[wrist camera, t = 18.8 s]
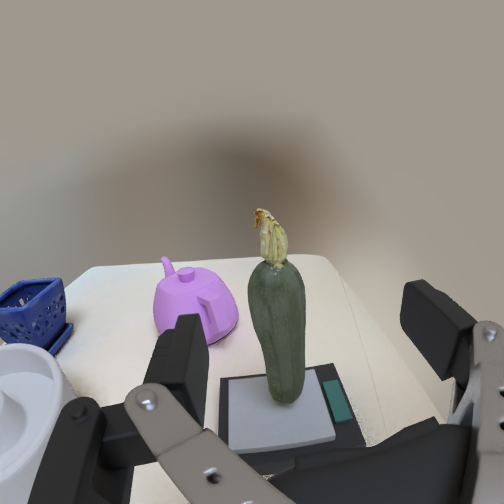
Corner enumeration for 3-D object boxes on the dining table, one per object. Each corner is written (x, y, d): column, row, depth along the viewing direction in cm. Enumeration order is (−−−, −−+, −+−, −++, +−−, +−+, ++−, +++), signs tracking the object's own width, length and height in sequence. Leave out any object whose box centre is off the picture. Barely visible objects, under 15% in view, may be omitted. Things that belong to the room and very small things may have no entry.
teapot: (202, 295, 60) (192, 244, 56) (264, 336, 45) (257, 271, 41) (143, 318, 53) (127, 265, 49) (189, 375, 38) (169, 307, 34)
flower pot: (38, 328, 50) (18, 279, 46) (82, 329, 50) (62, 274, 46) (7, 363, 38) (-20, 309, 33) (52, 371, 37) (22, 309, 33)
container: (-23, 405, 26) (-53, 357, 22) (93, 381, 36) (67, 326, 33) (-39, 526, 5) (-97, 477, 1) (123, 530, 15) (64, 488, 12)
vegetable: (313, 412, 26) (313, 210, 19) (274, 429, 24) (252, 222, 18) (292, 386, 30) (281, 200, 23) (256, 400, 28) (229, 210, 21)
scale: (332, 376, 35) (333, 356, 33) (362, 456, 22) (368, 439, 21) (223, 391, 34) (218, 372, 33) (222, 477, 22) (215, 463, 21)
